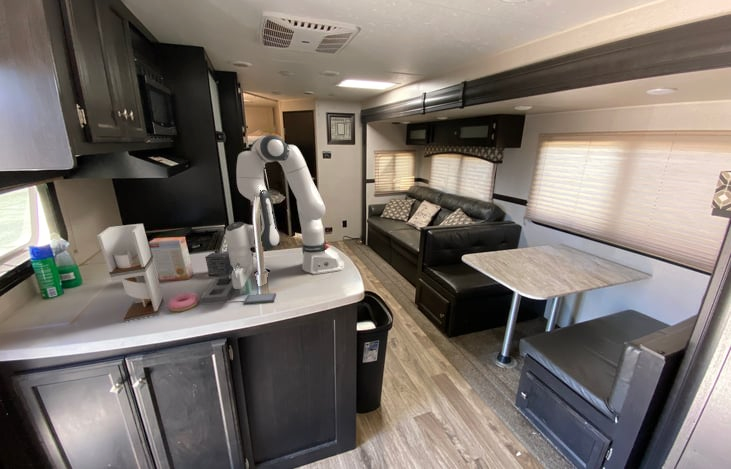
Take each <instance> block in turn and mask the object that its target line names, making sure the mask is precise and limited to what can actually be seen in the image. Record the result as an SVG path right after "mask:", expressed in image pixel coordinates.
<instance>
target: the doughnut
mask: <svg viewBox="0 0 731 469" xmlns="http://www.w3.org/2000/svg"><path fill="white" fill-rule="evenodd" d="M198 302H199V296H198V295H197V294H196V293H193V292H184V293H180V294H177V295H176V296H174V297H172V298H170V300H169V301H168V303H167V307H168V309H169V310H170V311H172V312H176V313H178V312H179V313H180V312H185V311H188V310H190V309H192V308H194V307H195V306H196V305H197V304H198Z"/></svg>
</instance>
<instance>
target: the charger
mask: <svg viewBox="0 0 731 469" xmlns="http://www.w3.org/2000/svg"><path fill="white" fill-rule="evenodd" d="M245 286H246V291H244V292H242V291H241V288H240V289H239V292H240V295H251V293H252V290H253V286H252V280H251V276H250V277H248V279H247V281H246V282H245Z"/></svg>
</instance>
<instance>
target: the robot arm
mask: <svg viewBox="0 0 731 469" xmlns="http://www.w3.org/2000/svg"><path fill="white" fill-rule="evenodd" d="M273 162H278V163H279V164H280V165H281V168H282V171H283V173H284V175H285V178H286V180H287V182H288V185H289V187H290V189H291V192H292V193H293V195H294V197H295V199H296V206H297V212H298V218H299V224H300V228H301V230H300V231H301V240H302V242H301V250H302V255H303V256H302V266H301V270H303V271H304V272H306V273H310V274H311V275H321V274H327V273H333V272H341V271H343V269H344V268H345V263H344V262H345V261H344V260H343V259H341V258H340V256H339V253H338V252H337V251H336V250H334V249H332V248H330V244H329V242H328V241H327V240H325V236H324V234H325V233H324V226H323V222H322V218H323V217H324V216H325V214H326V209H327V208H326V205H325V204H324V201H323V199H322V197H321V195H320V193H319V190H318V188H317V186H316V185H315V183H314V180H313V178H312V175H311V173H310V170H309V168H308V166H307V162H306V160H305V157H304V156H303V154H302V152H301V150H300V149H299V148H298V146H296V145H294V144H287V143H285V140H283V139H282V138H281V137H279V136H278V135H275V134H268V135H263V136H261V137H258V138H257V139H256V140H254V141H253V143H252V145H251V147H250V149H249V150H245V151H241V152H240V153H238V155H237V161H236V185H237V186H236V187H237V189H238V191H239V193H240V194H241V195H242V196H243V197H245V198H246V199H248V200H250V201H251V202H253V199H254V200H255V196H254V195H256V198H257V197H260V202H261V209H260V210H259V214H260V220H261V227H262V231H261V241H262V246H263V245H264V249H263V250H266V251H273V250H274V249H275V248H276V247H277V246H278V245H279V243H280V242H281V241H280V240H281V235H280V232H279V230H278V229H279V228H278V227H277V221H276V220H277V219H276V216H275V211H274V210H275V209H274V206H273V205H274V204H273V200H272V196H271V193H270V192H269V191H268V190H267V187H266V182H265V175H264V169H265V165H266V164H267V163H273ZM260 190H261V191H260ZM263 191H264V192H263ZM262 192H263V193H262ZM253 203H254V202H253ZM272 211H273V214H272ZM273 217H274V219H273ZM274 221H275V223H274ZM253 225H254V224H248V223H244V222H243V221H236V222H232V223H230V224H229V225H227V226H226V228H225V240H226V246H227V248H228V253H229V258H230V264H231V266H233V268H234V270H233V271H232V273H231V277H232V284H233V288H234V289H235V290H237V289H238V290H240V288H241V291H242V292H244V291H246V286H245V282H246V281H247V279H248V277H250V278H251V276H250V275H251V274H252V272H253V271H254V255H255V254H254V252H253V251H251V248H256V247H255V244H254V232H253ZM275 227H276V229H275Z"/></svg>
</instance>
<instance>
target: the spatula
mask: <svg viewBox="0 0 731 469" xmlns="http://www.w3.org/2000/svg"><path fill="white" fill-rule="evenodd" d="M276 297H277V293H276V292H274V293H272V292H271V293H257V294H247V296H246V298H245V299H235V300H234V299H233V300H228V301H227V302H226V303H237V302H243V305H257V304H271V303H272V304H273V303H275V300H276Z"/></svg>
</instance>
